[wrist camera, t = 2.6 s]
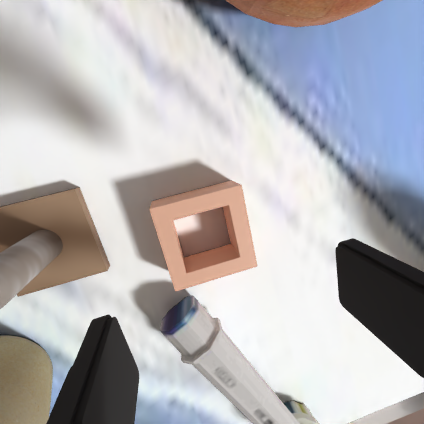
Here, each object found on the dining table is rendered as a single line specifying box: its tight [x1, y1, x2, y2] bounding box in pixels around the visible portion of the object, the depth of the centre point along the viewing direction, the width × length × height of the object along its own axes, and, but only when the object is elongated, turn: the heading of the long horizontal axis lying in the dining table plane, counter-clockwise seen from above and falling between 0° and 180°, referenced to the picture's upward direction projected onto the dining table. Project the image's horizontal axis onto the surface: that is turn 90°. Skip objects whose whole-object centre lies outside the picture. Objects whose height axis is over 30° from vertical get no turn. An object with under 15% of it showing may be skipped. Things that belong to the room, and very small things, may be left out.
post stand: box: [0, 187, 110, 309], centre depth 16 cm, size 7×7×8 cm
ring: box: [149, 181, 257, 292], centre depth 20 cm, size 7×7×3 cm
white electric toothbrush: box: [160, 296, 319, 424], centre depth 24 cm, size 5×7×25 cm
